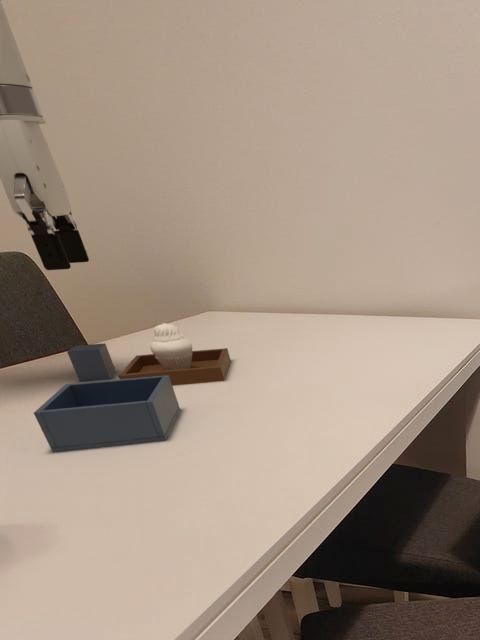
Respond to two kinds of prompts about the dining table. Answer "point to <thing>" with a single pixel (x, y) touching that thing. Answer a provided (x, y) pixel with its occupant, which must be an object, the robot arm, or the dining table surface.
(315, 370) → the dining table surface
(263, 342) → the dining table surface
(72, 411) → the blue bin
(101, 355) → the blue block
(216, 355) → the brown tray
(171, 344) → the muffin
